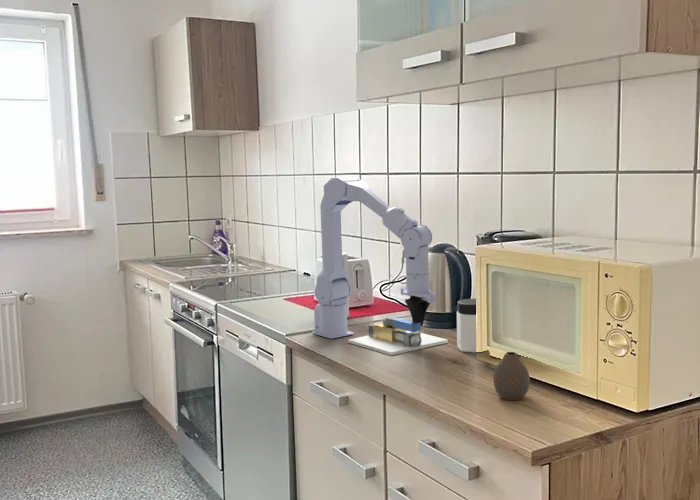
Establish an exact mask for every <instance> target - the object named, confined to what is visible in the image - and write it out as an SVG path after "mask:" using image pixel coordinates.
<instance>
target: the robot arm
mask: <svg viewBox="0 0 700 500" xmlns="http://www.w3.org/2000/svg"><path fill="white" fill-rule="evenodd" d="M353 202H359V203H361V204H362V205H364V206H365V207H366V208H368V209H369V210H371V211H372V212H374V213H375V214H376V215H377V216H379V217H380V218H381V219H382V225H383V226H384V227H385V228H386V229H388V230H389V231H390V232H391V233H393V234H394V235H395V236H397V238H398V239H400V243H401V245H402V247H403V248H404V255H405V273H406V275H405V276H406V277H405V278H406V280H405V281H406V282H405V283H406V286H401V287H400V295H402V296H409V298H405V299H404V303H405V304H406V306H407V308H408V310H409V312H410V316H411V321H415V322H420V323H421V327H423V326H424V322H425V317H426V314H427V311H428V309H429V306H430V305H431V304H432V303H436V302H437V294H435V293H433V292H432V291H431V290H430V279H429V277H430V274H429V273H430V272H429V266H430V264H429V263H430V262H429V261H430V260H429V246H430V245H431V244H432V241H433V233H432V231H431V230H430V228H428V226H427V225H424V224H418V221H417V220H416V219H412V218H411V217H410V216H408V215H407V214H406V213H405V209H403V208H400V207H399V208H398V207H390V206H389V205H388V204H387V203H386V202H385V201H383V199H381V198H380V196H378V195H377V193H375V192H374V191H373V190H372V189H371V188H370V187H369V186H368V184H367V183H366V182H365V181H363V180H361V179H360V178H359V177H357V176H351V177H334V176H333V177H331V178H330V179H329V180H328V181H327V182H326V183H324V185H323V196H322V199H321V203H320V225H321V226H320V228H321V229H320V231H321V256H322V259H321V260H322V270H321V271H320V272H319V273H318V274H317V276H316V284H315V286H314V290H313V291H314V297H315V299H316V301H317V302H318V303H317V304H316V305H315V307H314V313H313V314H314V317H313V319H314V330H312V334H314V335H318V336H321V337H324V338H326V339H332V340H333V339H337V338H343V337H348V336H352V335H354V334H355V332H352V331H349V330H348V318H347V307H346V302H347V298H348V297H350V295H351V293H352V285H351V283H350V281H349V273H348V274H347V272H346V271H345V270H344V269H343V265H342V253H343V241H342V215H341V213H342V211H343V210H344V209H345V208H346V207H347V206H349V204H351V203H353Z"/></svg>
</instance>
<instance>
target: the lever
mask: <svg viewBox="0 0 700 500" xmlns="http://www.w3.org/2000/svg"><path fill="white" fill-rule="evenodd" d="M382 323H383V325H385V326H393V327H394V328H398V329H402V330H406V331H410V332H420V331H421V327H422V326H421V323H420V322H415V321H413V320H412V319H411V320H410V319H407V318H401V317H397V316H388V317H385V319H383V320H382Z"/></svg>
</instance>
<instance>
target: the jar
mask: <svg viewBox="0 0 700 500" xmlns="http://www.w3.org/2000/svg"><path fill="white" fill-rule="evenodd" d="M476 299H477V298H465V299H460V300H458V301H457V311H456V346H457V348H458V349H459V350H460V351H461V352H462V353H463V352H464V353H475V354H477V353H476Z"/></svg>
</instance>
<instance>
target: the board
mask: <svg viewBox="0 0 700 500" xmlns="http://www.w3.org/2000/svg"><path fill="white" fill-rule="evenodd" d="M406 332H407V333H411V332H410V331H406ZM420 333H421V339H422V341H421V344H420V345H419V346H417V347H416V346H411V347H407V346H404V343H402V342H395V343H390V342H388V341H384V340H380V339H376V338H373V337H371V336H369V334H367V335H364V336H363V335H362V336H359V337H355V338H349V339H347V341H348V344H352V345H355V346H359V347H362V348H365V349H368V350H372V351H376V352H379V353H382V354H385V355H388V356H395V355H401V354H405V353H408V351H409V352H413V351H418V350H421V349H426V348H429V347H435V346H438V345H439V346H440V345H443V344H448V343H449V341H448V340H449V339H447V338H444V337H439V336H434V335H430V334H426V333H423V332H420Z"/></svg>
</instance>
